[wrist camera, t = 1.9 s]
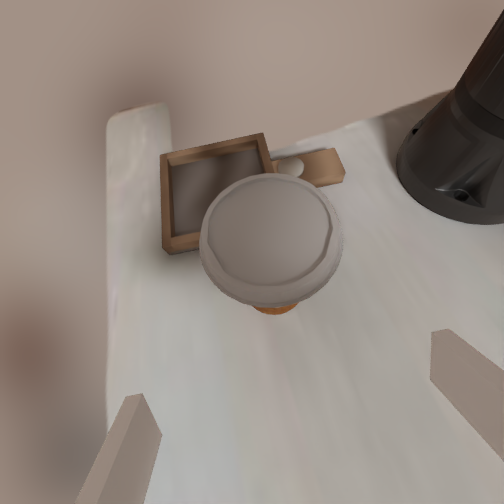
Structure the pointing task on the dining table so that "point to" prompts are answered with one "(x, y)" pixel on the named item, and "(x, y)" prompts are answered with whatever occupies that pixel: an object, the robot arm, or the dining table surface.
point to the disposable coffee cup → (270, 241)
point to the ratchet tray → (225, 181)
